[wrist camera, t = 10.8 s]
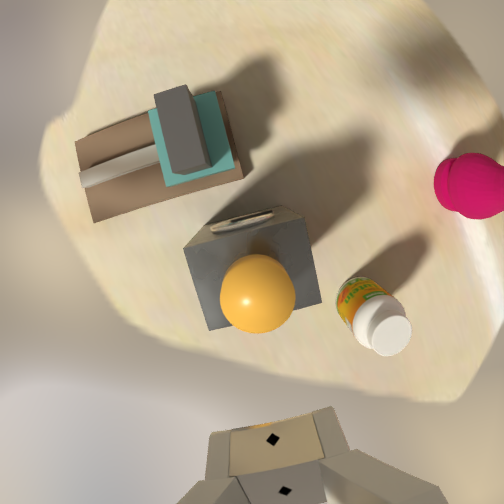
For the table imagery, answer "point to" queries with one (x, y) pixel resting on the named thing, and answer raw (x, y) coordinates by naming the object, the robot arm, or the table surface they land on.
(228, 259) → the cabinet
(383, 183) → the table surface
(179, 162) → the carriage
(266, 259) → the button
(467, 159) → the pepper mill
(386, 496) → the robot arm
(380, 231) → the table surface
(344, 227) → the table surface
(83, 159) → the rail board
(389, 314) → the supplement bottle
